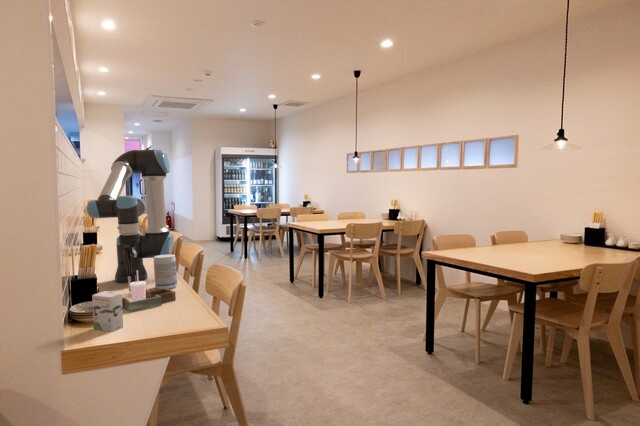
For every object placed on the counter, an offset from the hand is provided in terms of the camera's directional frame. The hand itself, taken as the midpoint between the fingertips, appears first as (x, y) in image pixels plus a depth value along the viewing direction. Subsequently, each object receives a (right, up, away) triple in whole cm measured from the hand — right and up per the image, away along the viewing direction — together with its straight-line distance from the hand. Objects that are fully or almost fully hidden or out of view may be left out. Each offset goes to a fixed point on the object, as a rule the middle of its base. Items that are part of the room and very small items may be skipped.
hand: (132, 290), depth 176 cm
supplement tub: (+6, -3, +22) cm, 23 cm away
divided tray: (+3, -4, -4) cm, 7 cm away
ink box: (+6, -7, -33) cm, 34 cm away
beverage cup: (+5, -5, -6) cm, 10 cm away
